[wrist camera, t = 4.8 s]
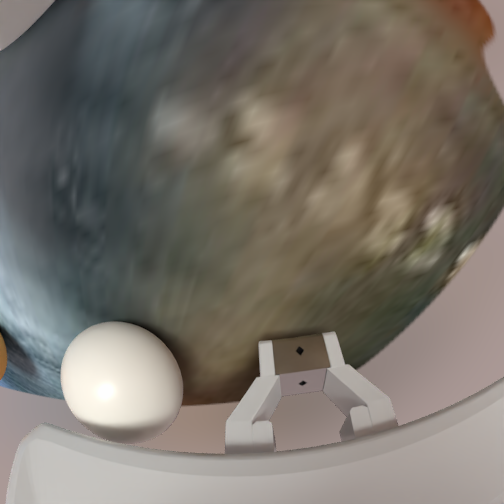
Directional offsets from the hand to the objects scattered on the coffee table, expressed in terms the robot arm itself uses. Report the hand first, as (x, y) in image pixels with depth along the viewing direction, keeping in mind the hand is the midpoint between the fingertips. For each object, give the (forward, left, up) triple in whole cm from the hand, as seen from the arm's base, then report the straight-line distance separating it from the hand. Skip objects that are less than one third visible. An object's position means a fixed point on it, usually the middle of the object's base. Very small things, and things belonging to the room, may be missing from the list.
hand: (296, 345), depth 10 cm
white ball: (+1, -7, +1) cm, 8 cm away
